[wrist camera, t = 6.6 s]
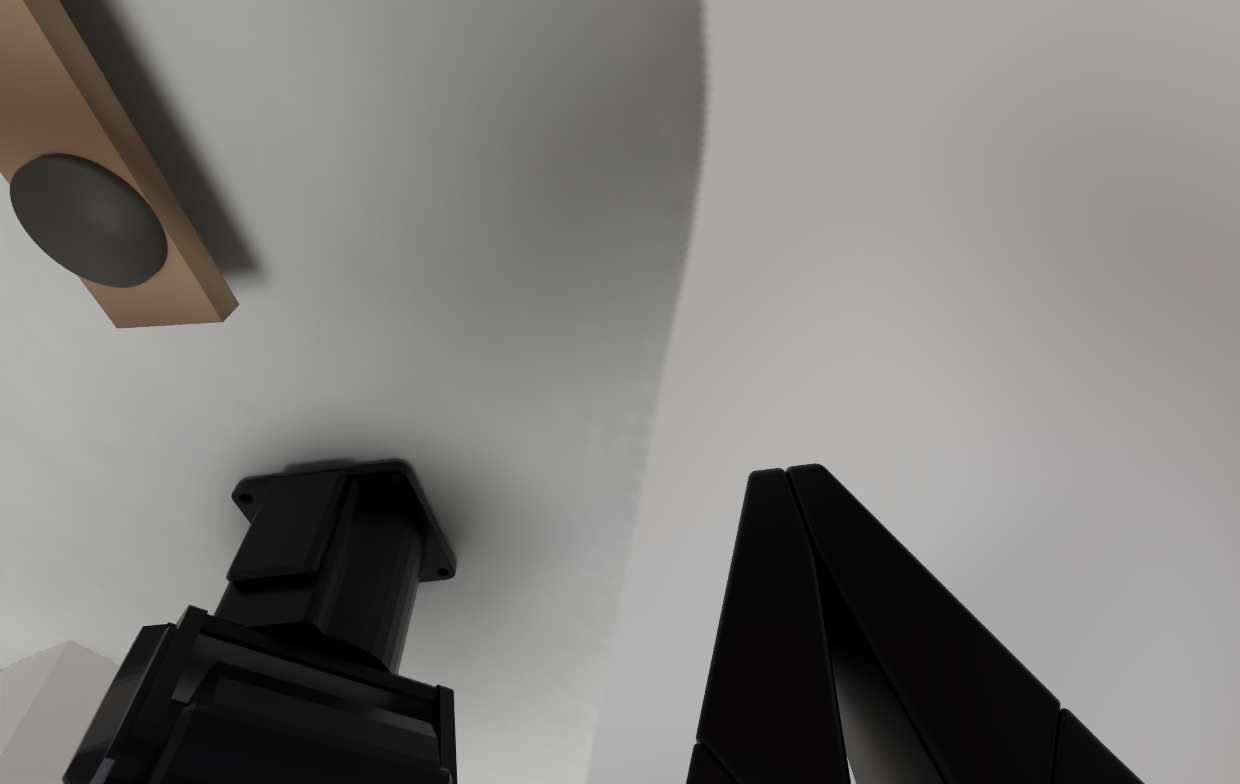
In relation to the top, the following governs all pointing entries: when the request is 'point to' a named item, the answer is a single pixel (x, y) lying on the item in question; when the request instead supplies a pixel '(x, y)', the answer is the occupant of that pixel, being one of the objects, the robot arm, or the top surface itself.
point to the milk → (48, 710)
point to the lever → (95, 180)
